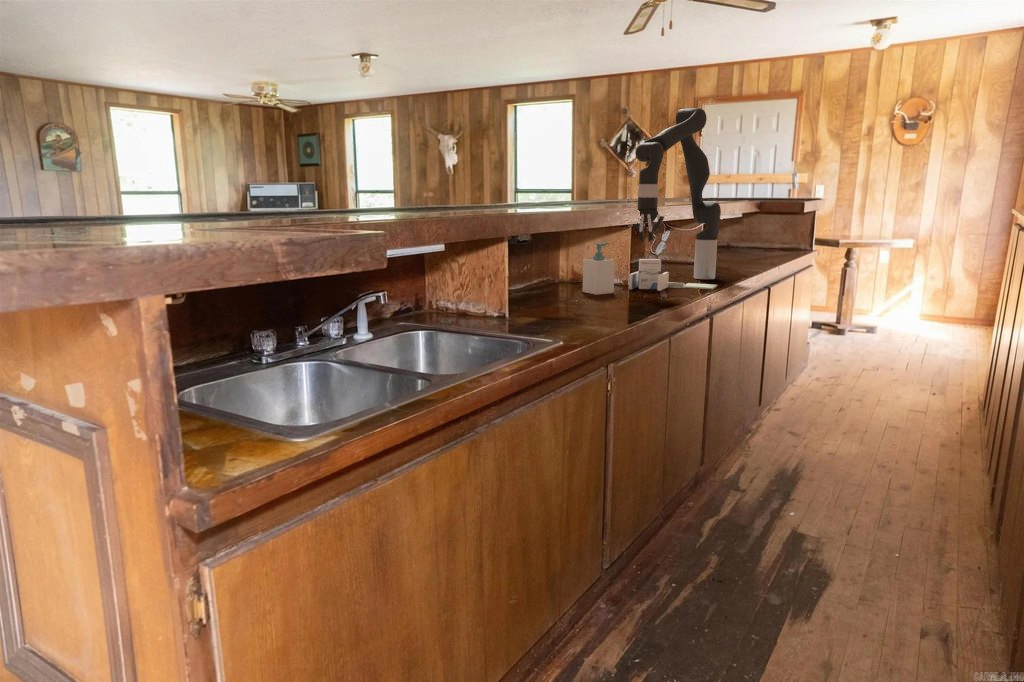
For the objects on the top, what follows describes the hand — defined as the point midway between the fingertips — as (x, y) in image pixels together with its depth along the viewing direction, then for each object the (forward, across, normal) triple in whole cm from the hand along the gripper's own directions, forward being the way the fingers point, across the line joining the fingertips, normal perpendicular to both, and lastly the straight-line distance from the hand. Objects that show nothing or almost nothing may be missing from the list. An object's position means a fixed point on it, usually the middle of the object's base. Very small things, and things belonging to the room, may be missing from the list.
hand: (646, 241), depth 267 cm
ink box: (+19, 0, -5) cm, 20 cm away
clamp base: (+19, -4, -5) cm, 20 cm away
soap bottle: (+19, +14, +14) cm, 28 cm away
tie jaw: (+19, -6, -4) cm, 21 cm away
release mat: (+19, -18, -18) cm, 32 cm away
